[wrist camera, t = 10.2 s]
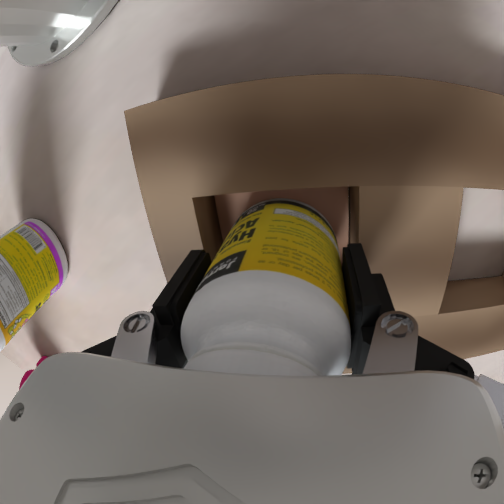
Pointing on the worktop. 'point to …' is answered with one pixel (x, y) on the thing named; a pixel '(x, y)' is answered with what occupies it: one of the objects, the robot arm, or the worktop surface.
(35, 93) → the worktop surface
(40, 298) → the supplement bottle
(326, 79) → the socket board
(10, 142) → the worktop surface
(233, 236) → the supplement bottle
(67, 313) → the worktop surface
